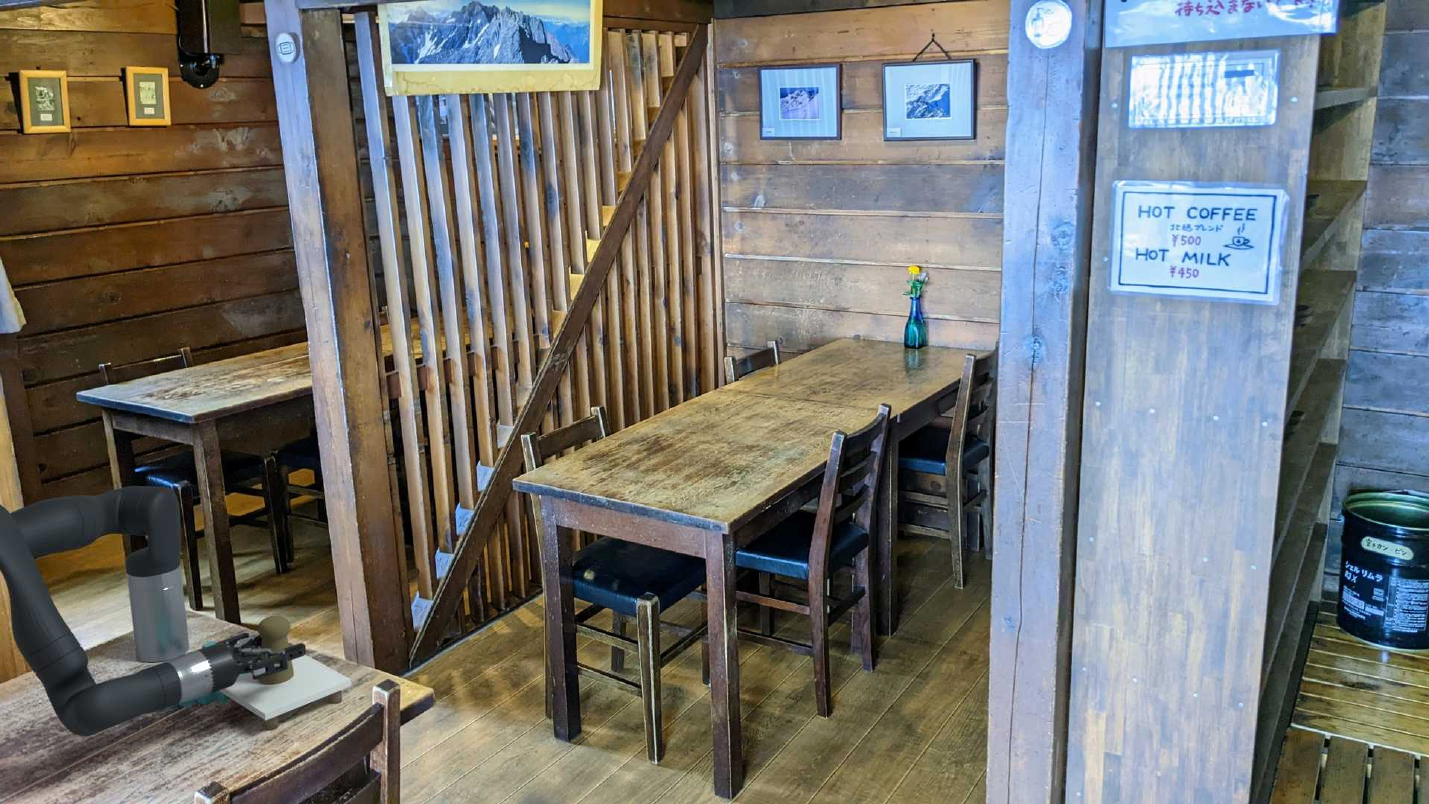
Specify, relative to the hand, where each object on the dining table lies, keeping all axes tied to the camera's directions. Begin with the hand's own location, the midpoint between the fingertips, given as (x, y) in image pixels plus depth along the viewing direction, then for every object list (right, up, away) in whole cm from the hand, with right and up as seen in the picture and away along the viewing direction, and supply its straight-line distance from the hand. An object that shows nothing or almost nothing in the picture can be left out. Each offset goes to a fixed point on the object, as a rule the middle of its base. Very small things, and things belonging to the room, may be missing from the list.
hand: (291, 641), depth 193 cm
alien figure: (-20, -10, +9) cm, 24 cm away
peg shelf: (-1, -11, +1) cm, 11 cm away
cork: (-4, -7, +2) cm, 8 cm away
